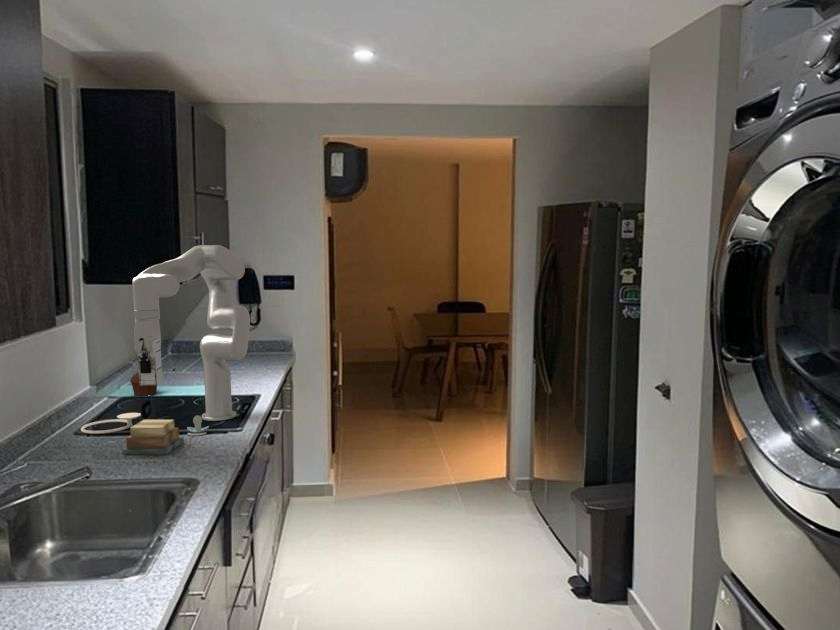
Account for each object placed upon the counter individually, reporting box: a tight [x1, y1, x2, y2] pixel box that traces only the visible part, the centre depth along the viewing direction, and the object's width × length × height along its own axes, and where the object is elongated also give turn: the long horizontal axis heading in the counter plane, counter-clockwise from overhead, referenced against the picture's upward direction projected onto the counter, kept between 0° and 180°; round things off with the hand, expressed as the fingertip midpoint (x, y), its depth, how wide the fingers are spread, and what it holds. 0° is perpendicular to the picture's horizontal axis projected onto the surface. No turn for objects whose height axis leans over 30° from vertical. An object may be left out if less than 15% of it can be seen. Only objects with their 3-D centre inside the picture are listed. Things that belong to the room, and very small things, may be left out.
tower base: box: [121, 419, 185, 455], centre depth 228 cm, size 14×14×8 cm
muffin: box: [129, 371, 158, 397], centre depth 306 cm, size 12×11×10 cm
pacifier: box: [186, 415, 210, 437], centre depth 244 cm, size 7×6×6 cm
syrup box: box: [137, 338, 164, 386], centre depth 225 cm, size 6×6×14 cm
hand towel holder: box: [80, 412, 142, 435], centre depth 254 cm, size 17×4×21 cm
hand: (150, 370), depth 226 cm, fingers closed on syrup box, 6 cm apart
